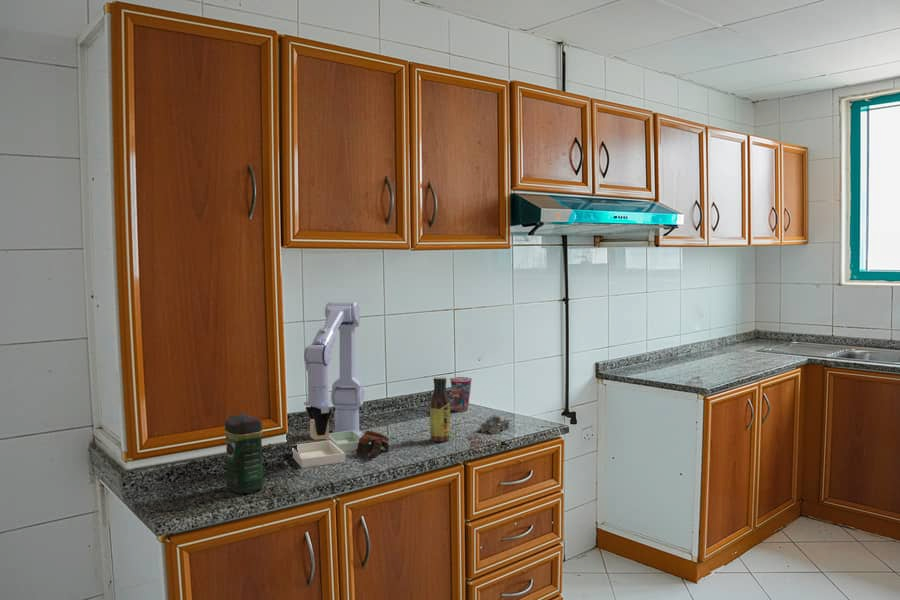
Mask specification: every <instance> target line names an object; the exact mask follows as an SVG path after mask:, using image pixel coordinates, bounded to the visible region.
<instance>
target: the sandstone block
mask: <svg viewBox="0 0 900 600" xmlns="http://www.w3.org/2000/svg"><path fill="white" fill-rule="evenodd" d="M329 433H330V421H329V420H328V423H327V428H326V433H325V435H320V436H318V435H317V432H316V425H315V421H314V419H310V418H309V437H310V438H311V439H312V440H315V441H316V440H324V439H325V438H329Z"/></svg>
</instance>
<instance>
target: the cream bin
mask: <svg viewBox="0 0 900 600" xmlns="http://www.w3.org/2000/svg"><path fill="white" fill-rule="evenodd" d="M296 445H297V450H298V452H297V451H296V450H295V449H294V448H292V452H293V457H292V458H293V459H294V461H295V462H296V463H297V464H298V465H299V467H301V469H307V468H311V467H319V466H325V465H326V466H327V465H332V464H333V465H335V464H341V463H346V452H343V451H342V450H341V449H339V448H338V447H337V446H336V445H335V444H334V443H333V442H331V441H330V440H329V441H325V440H324V441H323V440H322V441H315V442H308V443H307V442H306V443H298V444H296Z"/></svg>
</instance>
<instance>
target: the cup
mask: <svg viewBox="0 0 900 600" xmlns="http://www.w3.org/2000/svg"><path fill="white" fill-rule="evenodd" d="M472 380H473V378H471V377H465V376H458V377H451V378H449V381H450V387H451V388H450V389H451V395H452V402H453V403H452V404H453V408H454V409H453V410H454V412H458V413H461V412H463V413H465V412H467V411H468V410H469V406H470V405H469V404H470V395H471V386H472Z"/></svg>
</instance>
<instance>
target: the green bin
mask: <svg viewBox="0 0 900 600" xmlns="http://www.w3.org/2000/svg"><path fill="white" fill-rule="evenodd" d="M362 436H363V435H362V434H360V435H359V434H358V433H357V432H355V431H354V430H353V431H344V432H336V433H334V432H329V438H325V440H324V441H329V440H330V441H331V442H333V443H334V444H335V445H336V446H337V447H338V448H339V449H341V450H342V451H343V452H344V453H347V452H352V451H356V449H357V448H358V443H359V439H360V438H361V437H362Z"/></svg>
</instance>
